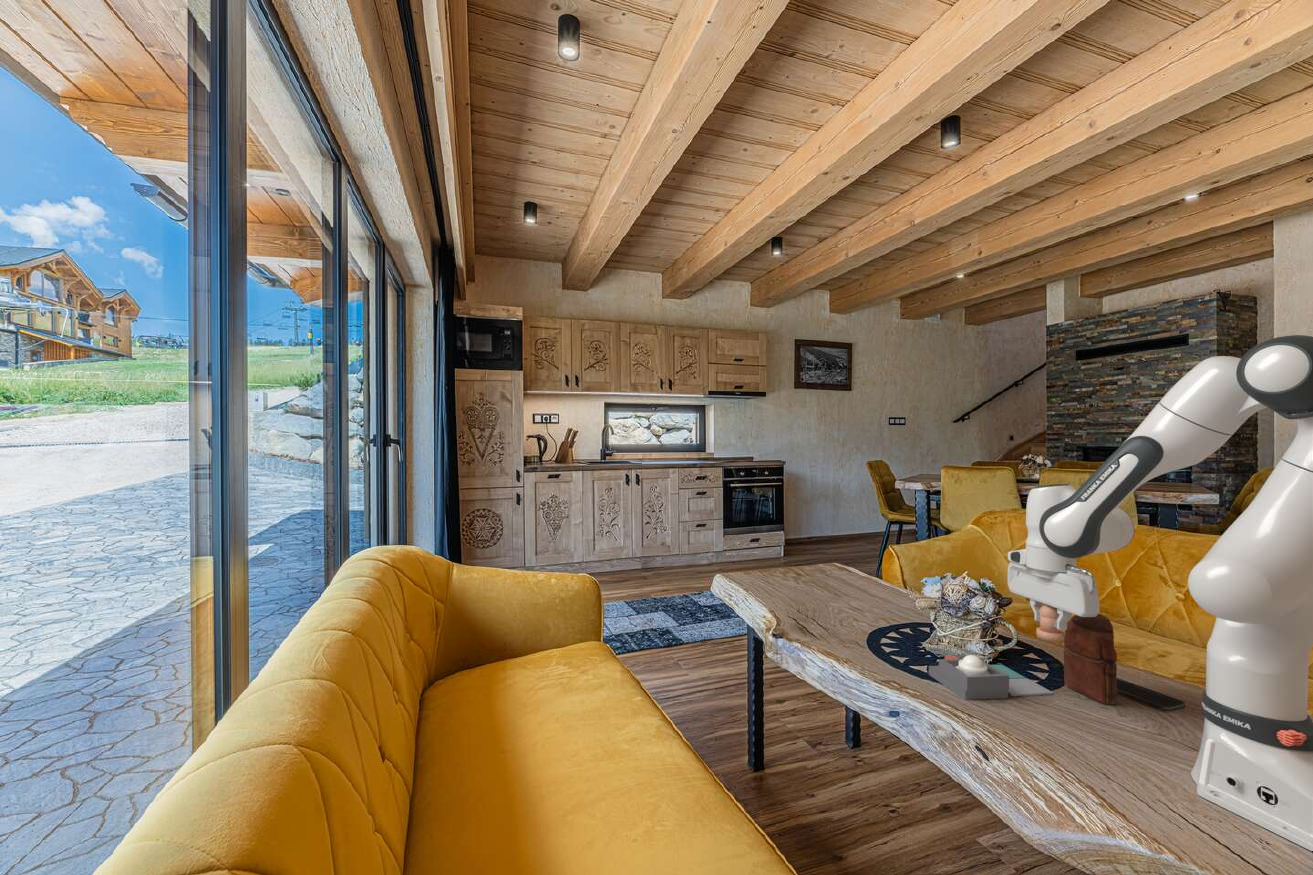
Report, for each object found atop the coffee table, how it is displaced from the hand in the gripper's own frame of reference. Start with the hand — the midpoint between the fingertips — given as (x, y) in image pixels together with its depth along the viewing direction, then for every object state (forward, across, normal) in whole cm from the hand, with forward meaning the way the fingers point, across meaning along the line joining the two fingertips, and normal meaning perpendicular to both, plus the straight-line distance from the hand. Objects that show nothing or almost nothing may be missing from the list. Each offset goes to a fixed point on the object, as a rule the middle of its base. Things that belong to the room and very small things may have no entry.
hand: (1050, 625), depth 119 cm
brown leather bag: (+17, +4, -14) cm, 22 cm away
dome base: (+16, +10, +12) cm, 23 cm away
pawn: (+3, 0, 0) cm, 3 cm away
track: (+17, +12, 0) cm, 21 cm away
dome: (+14, +8, +12) cm, 20 cm away
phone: (+17, +3, -24) cm, 30 cm away
